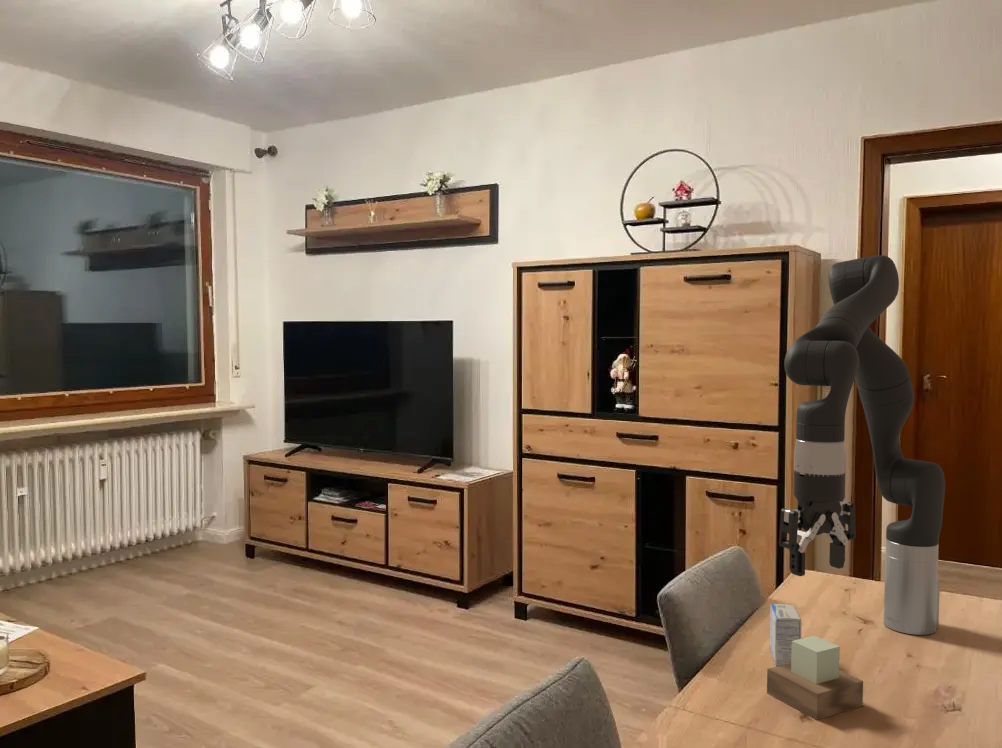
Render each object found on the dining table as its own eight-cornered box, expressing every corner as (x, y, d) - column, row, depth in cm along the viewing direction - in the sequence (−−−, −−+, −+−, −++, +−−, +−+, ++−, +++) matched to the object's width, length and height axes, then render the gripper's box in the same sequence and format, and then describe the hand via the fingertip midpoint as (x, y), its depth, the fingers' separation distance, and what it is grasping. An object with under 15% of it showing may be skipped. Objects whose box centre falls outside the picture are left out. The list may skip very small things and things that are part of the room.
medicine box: (801, 668, 138) (802, 619, 138) (774, 666, 139) (775, 617, 139) (794, 651, 146) (795, 604, 146) (768, 649, 147) (769, 602, 146)
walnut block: (811, 681, 133) (811, 657, 133) (862, 706, 124) (863, 681, 124) (766, 693, 129) (767, 668, 129) (816, 720, 120) (817, 693, 120)
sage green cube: (813, 665, 130) (814, 635, 129) (839, 677, 125) (839, 646, 125) (791, 671, 127) (791, 640, 127) (816, 683, 123) (817, 652, 123)
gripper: (831, 461, 131) (829, 559, 132) (767, 468, 125) (765, 570, 126) (871, 468, 124) (868, 571, 125) (805, 476, 118) (803, 584, 119)
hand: (817, 571), depth 125 cm, fingers open, 8 cm apart
